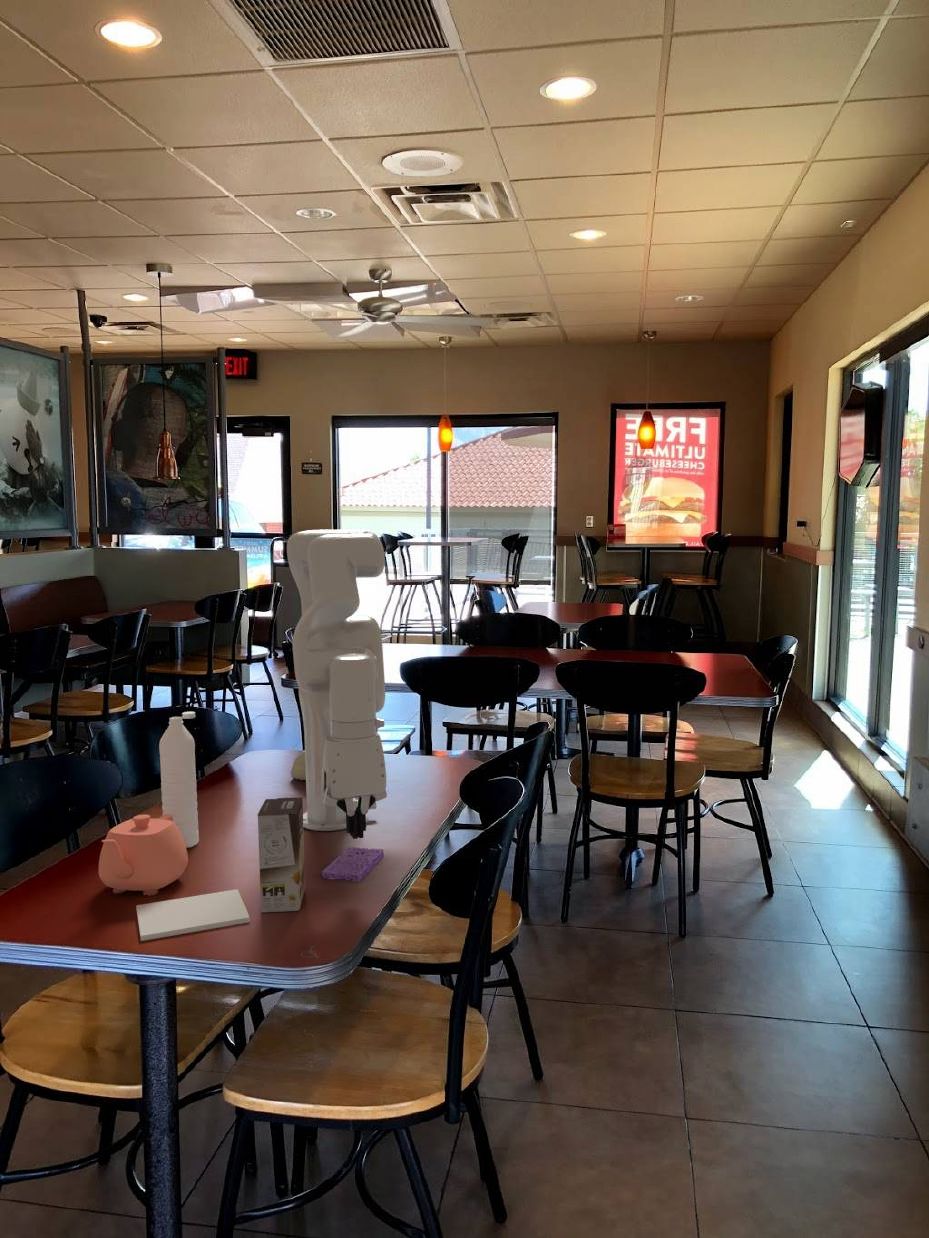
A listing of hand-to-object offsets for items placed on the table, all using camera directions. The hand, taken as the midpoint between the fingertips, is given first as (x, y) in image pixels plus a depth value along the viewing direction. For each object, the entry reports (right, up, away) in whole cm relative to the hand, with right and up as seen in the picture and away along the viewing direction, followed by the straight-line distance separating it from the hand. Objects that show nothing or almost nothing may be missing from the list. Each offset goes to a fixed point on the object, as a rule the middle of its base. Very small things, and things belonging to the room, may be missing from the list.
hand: (356, 835), depth 155 cm
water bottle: (-36, -7, +25) cm, 45 cm away
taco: (-12, -3, +62) cm, 64 cm away
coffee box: (-11, -10, -4) cm, 16 cm away
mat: (-25, -11, -9) cm, 28 cm away
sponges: (-2, -9, +11) cm, 14 cm away
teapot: (-37, -10, +3) cm, 38 cm away
